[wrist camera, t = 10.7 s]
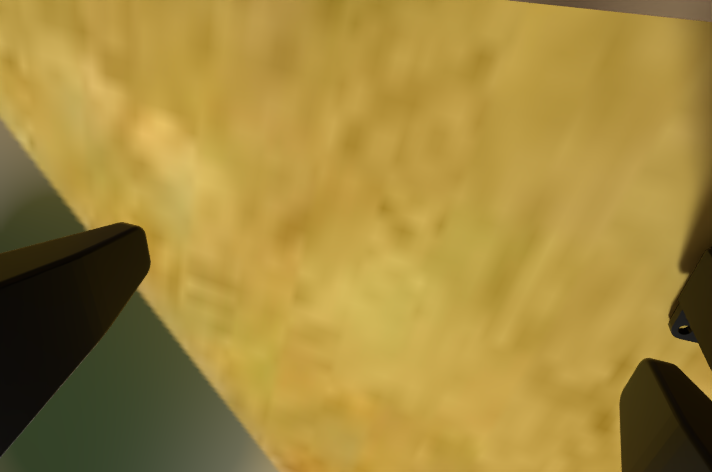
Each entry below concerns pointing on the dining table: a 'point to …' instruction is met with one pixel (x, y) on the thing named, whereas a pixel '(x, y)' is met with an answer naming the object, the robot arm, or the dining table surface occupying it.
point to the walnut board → (643, 7)
